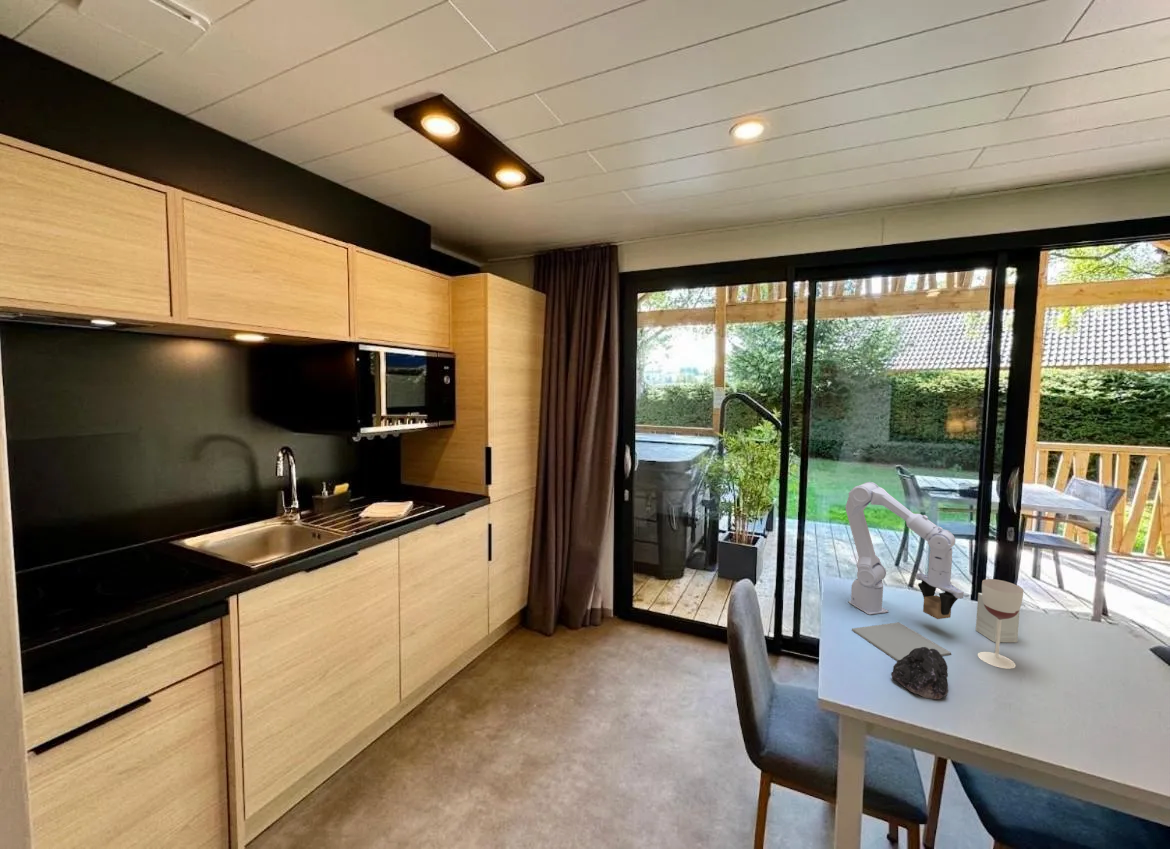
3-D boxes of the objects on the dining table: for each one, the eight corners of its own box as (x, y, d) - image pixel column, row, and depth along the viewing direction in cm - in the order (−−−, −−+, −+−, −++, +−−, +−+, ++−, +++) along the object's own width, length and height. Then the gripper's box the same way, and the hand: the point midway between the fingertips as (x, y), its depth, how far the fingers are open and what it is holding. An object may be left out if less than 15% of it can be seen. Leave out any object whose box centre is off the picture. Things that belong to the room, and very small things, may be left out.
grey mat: (851, 630, 154) (851, 628, 154) (898, 623, 158) (898, 622, 157) (899, 662, 136) (899, 660, 136) (951, 654, 140) (951, 652, 140)
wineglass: (981, 664, 135) (987, 589, 133) (972, 647, 144) (978, 576, 141) (1021, 673, 131) (1028, 596, 129) (1010, 655, 139) (1017, 582, 137)
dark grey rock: (904, 700, 122) (911, 666, 120) (879, 664, 135) (886, 633, 133) (961, 709, 120) (970, 674, 118) (930, 671, 133) (938, 639, 131)
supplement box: (1018, 642, 146) (1021, 603, 145) (993, 642, 146) (996, 603, 145) (998, 630, 153) (1001, 592, 152) (974, 630, 154) (977, 592, 152)
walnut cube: (923, 611, 155) (924, 596, 154) (935, 610, 156) (936, 595, 155) (937, 619, 150) (938, 603, 150) (950, 617, 151) (951, 602, 151)
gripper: (973, 577, 145) (969, 619, 147) (929, 559, 159) (926, 598, 161) (954, 579, 144) (950, 622, 145) (911, 561, 158) (909, 600, 159)
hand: (936, 610), depth 153 cm, fingers closed on walnut cube, 5 cm apart
